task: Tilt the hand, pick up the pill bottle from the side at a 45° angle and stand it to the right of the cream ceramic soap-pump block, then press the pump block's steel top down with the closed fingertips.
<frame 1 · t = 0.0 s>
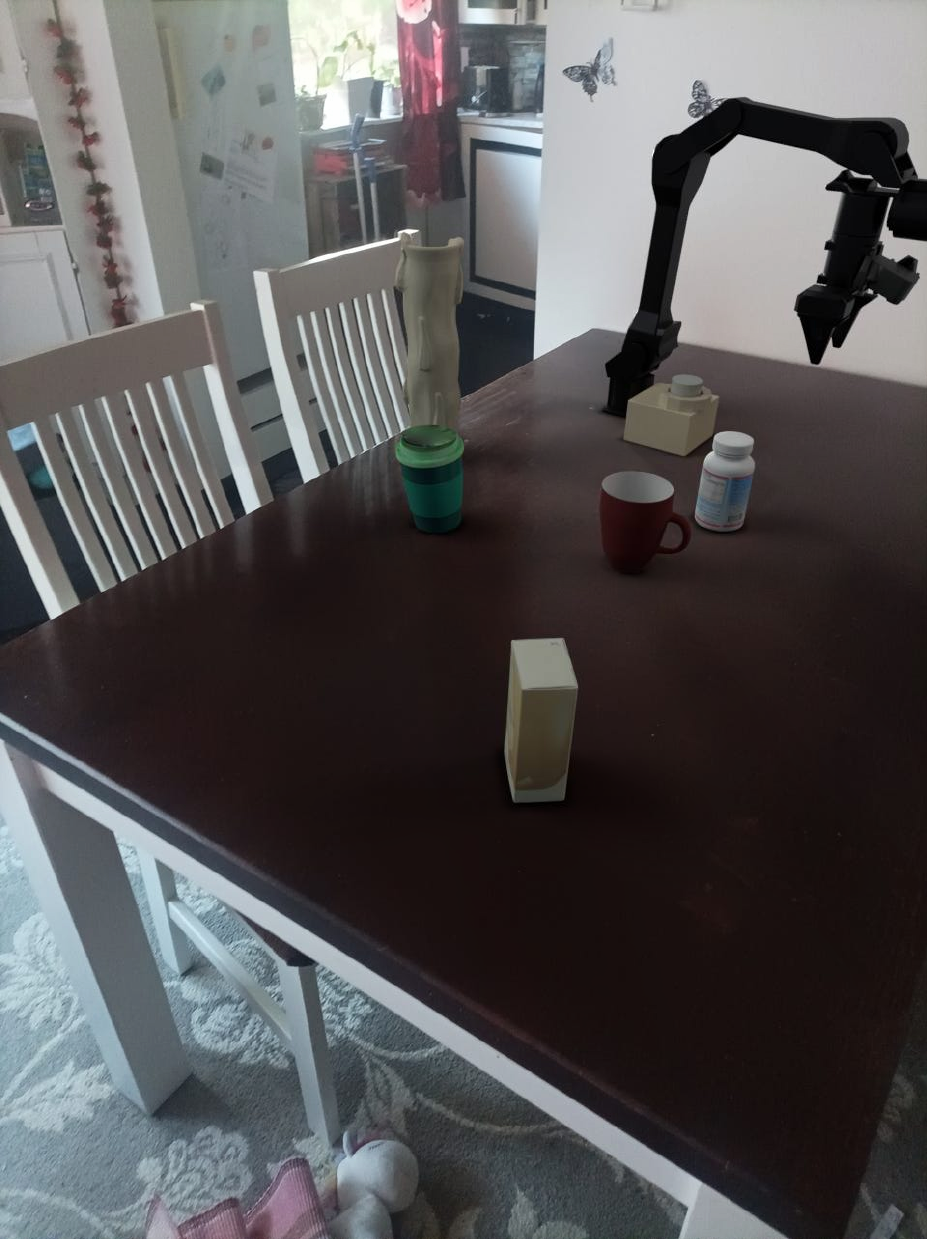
hand: (826, 355, 119), 15 cm above the table, tool pointing down, fingers open, 9 cm apart
mug: (637, 567, 101), on the table
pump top: (686, 386, 125), point 9 cm above the table, slide at 0.1 cm
vase: (433, 456, 126), on the table
cup: (431, 527, 108), on the table
pump block: (668, 437, 132), on the table
pill bottle: (717, 523, 110), on the table
cosmetic box: (533, 778, 72), on the table
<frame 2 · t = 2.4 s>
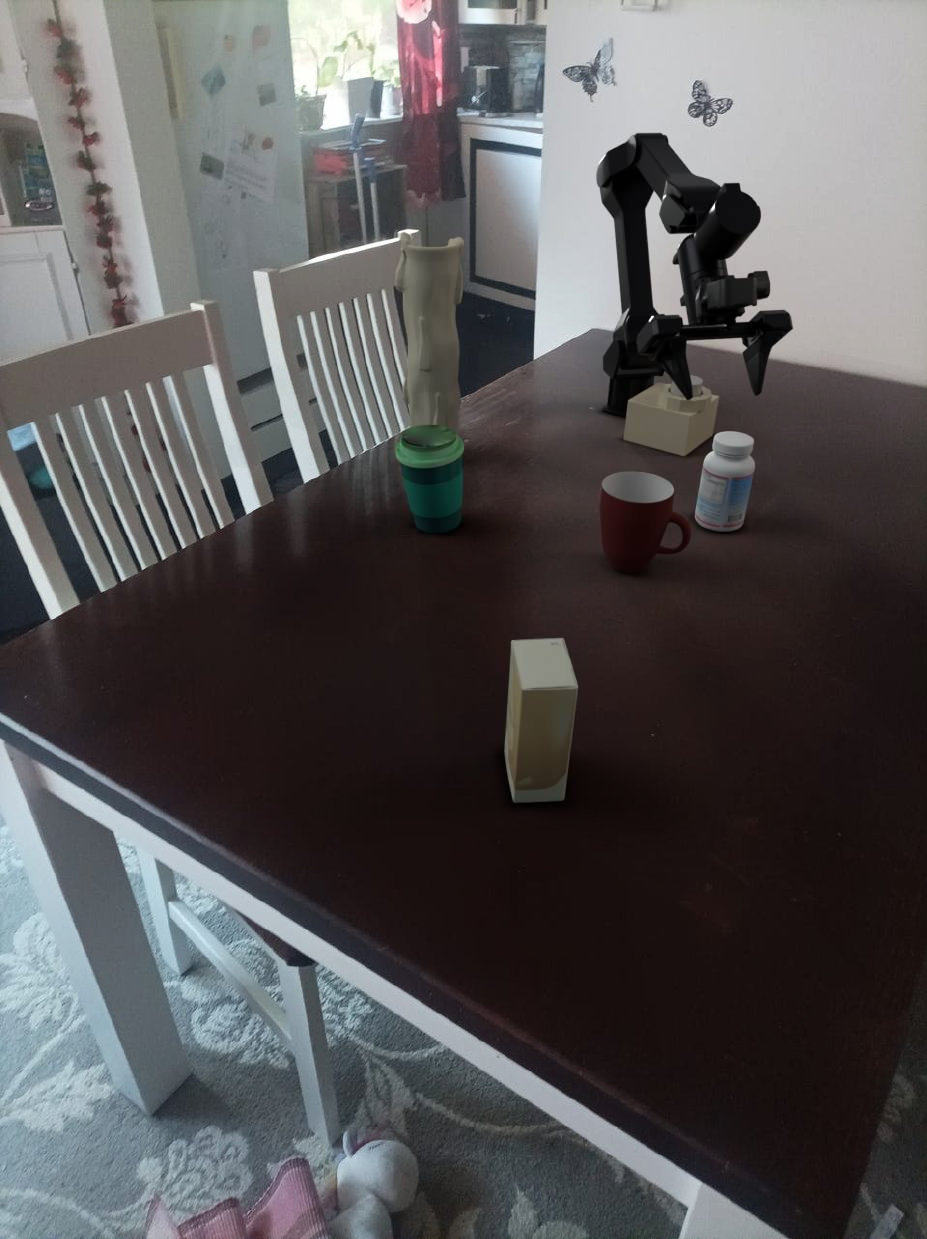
hand: (724, 396, 109), 13 cm above the table, tool tilted 40°, fingers open, 9 cm apart
nothing on the table moved.
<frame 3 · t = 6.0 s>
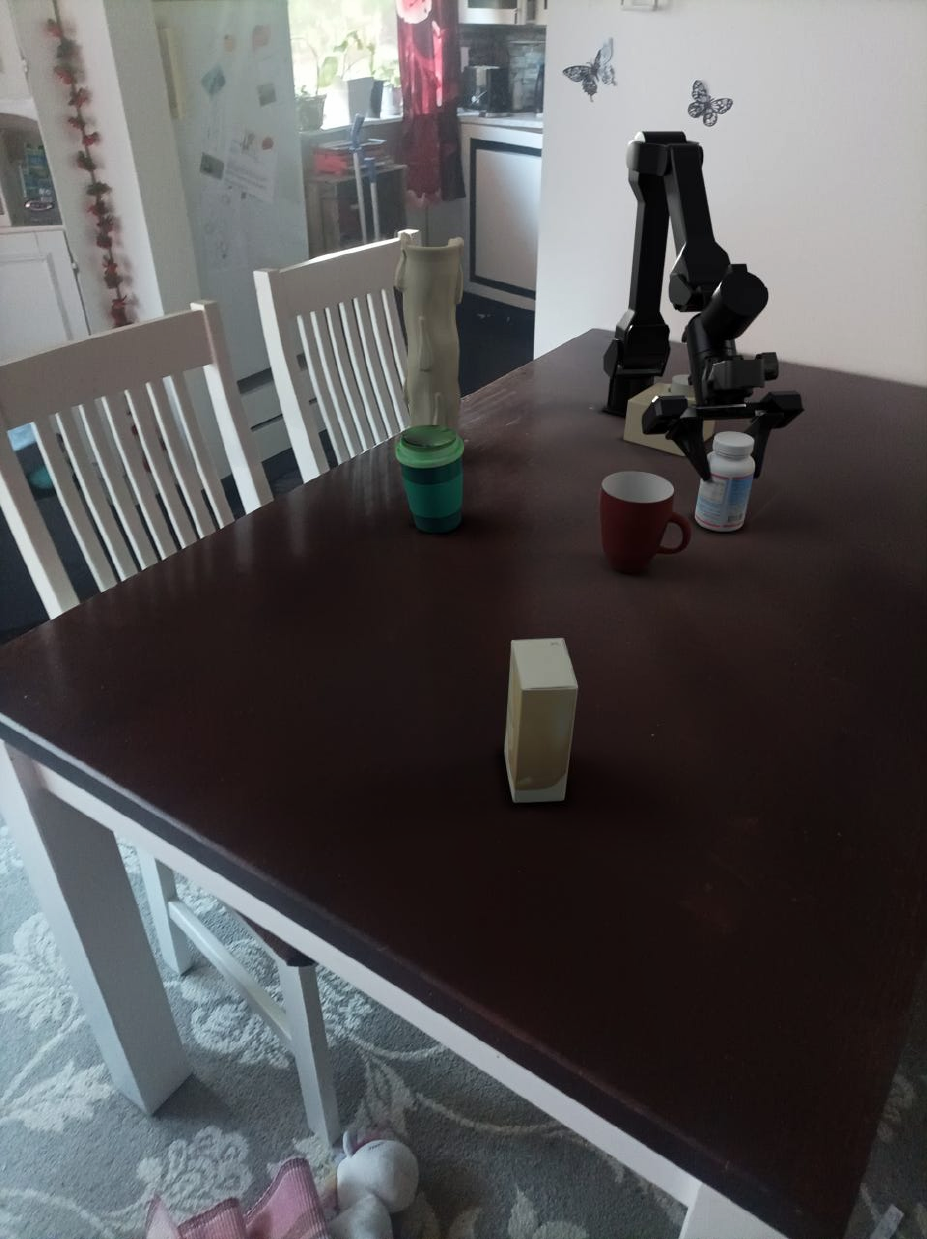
hand: (731, 479, 105), 7 cm above the table, tool tilted 45°, fingers closed on pill bottle, 6 cm apart
pill bottle: (717, 523, 110), on the table, touching gripper
everything else where it was.
when the fingers open (7 cm above the table, at t = 13.3 s): pill bottle stays where it is, on the table.
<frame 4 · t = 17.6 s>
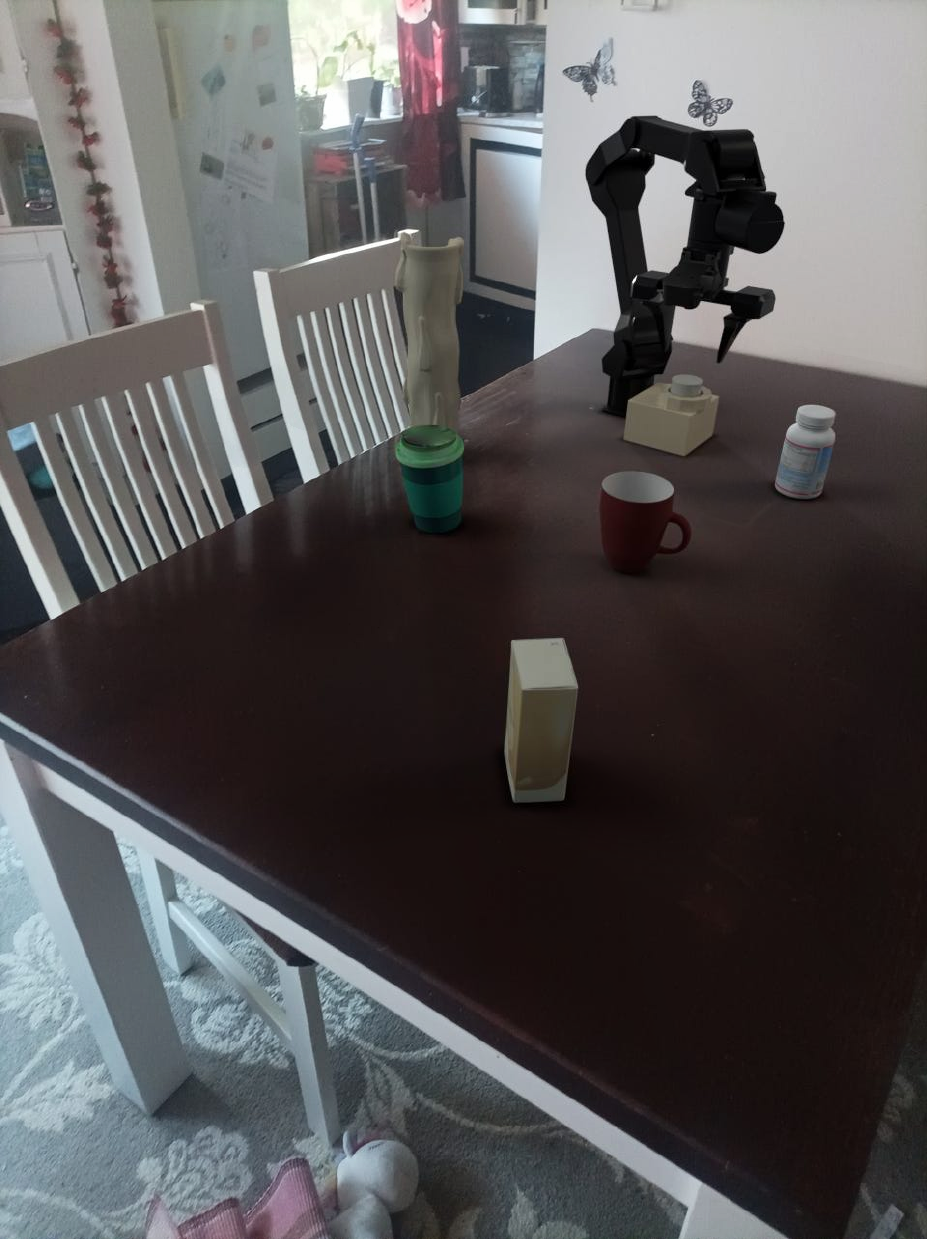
hand: (691, 356, 123), 13 cm above the table, tool pointing down, fingers open, 8 cm apart
pill bottle: (796, 492, 117), on the table
everything else where it was.
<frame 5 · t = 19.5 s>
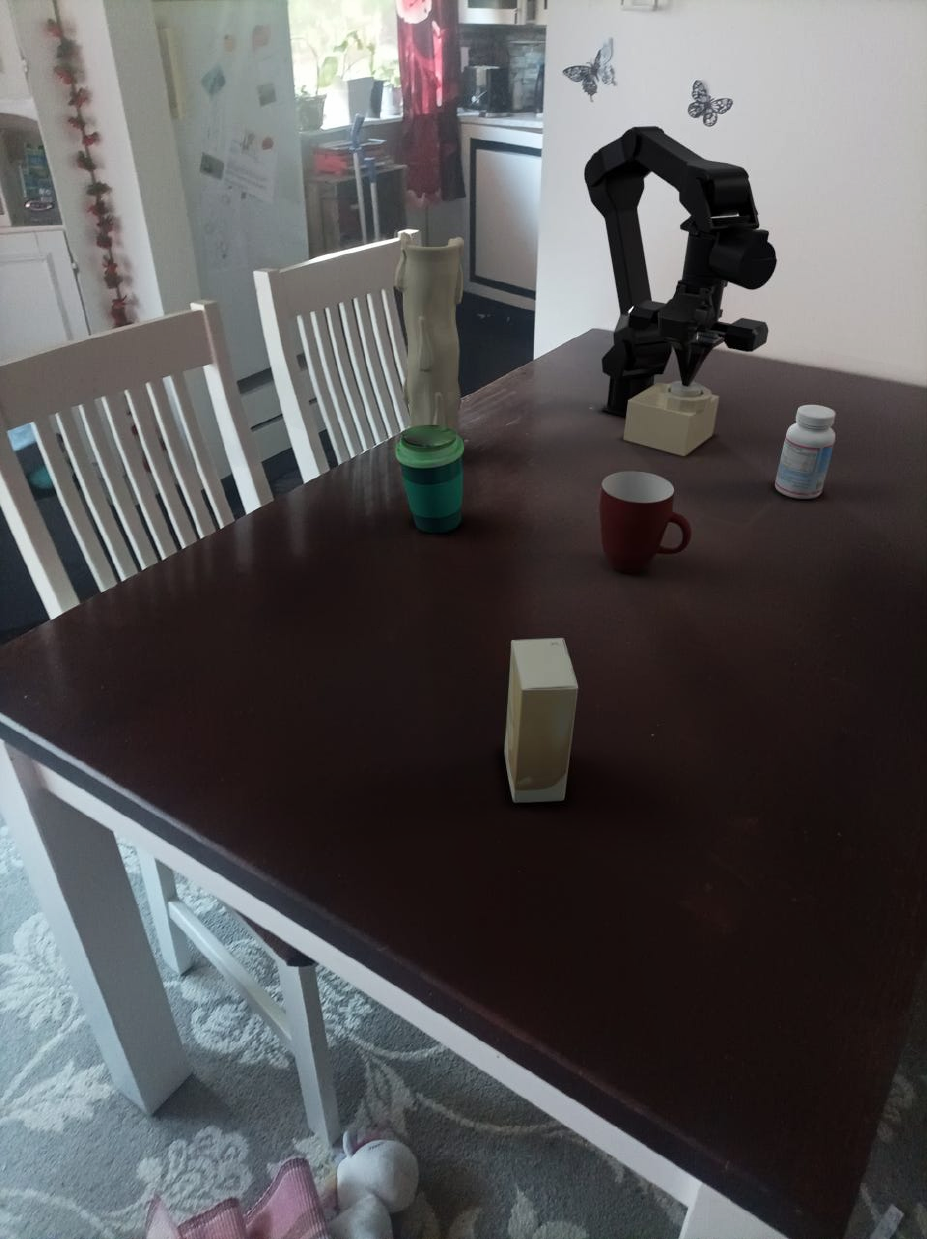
hand: (686, 385, 125), 9 cm above the table, tool pointing down, fingers closed, pressing on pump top
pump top: (685, 392, 126), point 8 cm above the table, slide at -0.8 cm, touching gripper
everything else where it was.
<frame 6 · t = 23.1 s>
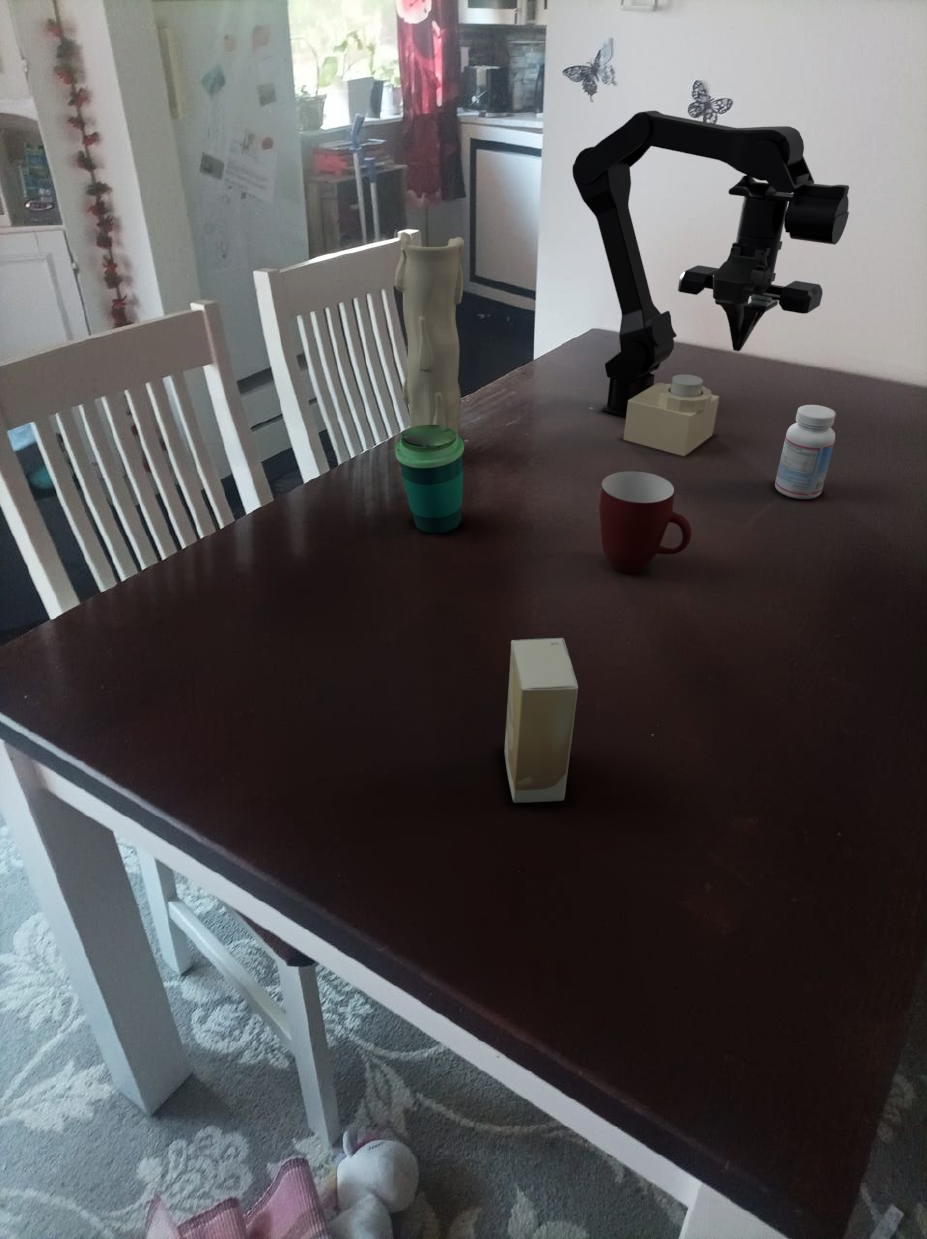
hand: (737, 350, 126), 13 cm above the table, tool pointing down, fingers closed
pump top: (686, 386, 125), point 9 cm above the table, slide at 0.1 cm
everything else where it was.
at the end: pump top pushed in 1.2 cm at the most during the clip, back to where it started at the end; pill bottle 0.1 cm from the target spot on the table beside the pump block, on the table; pill bottle tilted 0° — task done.
